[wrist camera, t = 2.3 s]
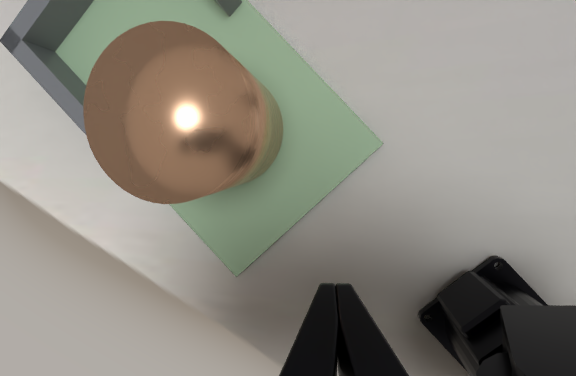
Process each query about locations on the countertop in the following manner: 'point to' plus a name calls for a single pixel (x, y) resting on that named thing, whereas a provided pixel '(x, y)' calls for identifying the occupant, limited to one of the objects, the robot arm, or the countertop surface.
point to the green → (294, 109)
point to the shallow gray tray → (45, 41)
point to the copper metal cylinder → (178, 115)
